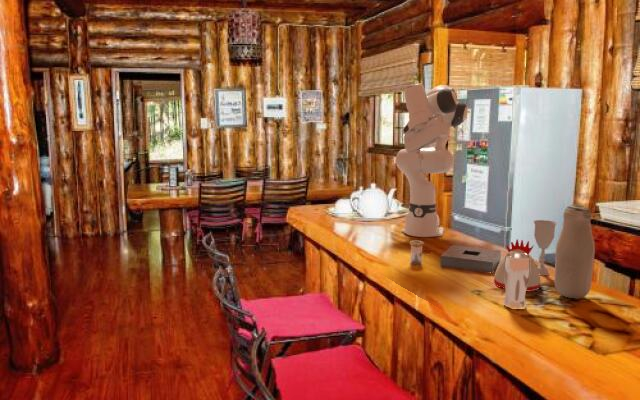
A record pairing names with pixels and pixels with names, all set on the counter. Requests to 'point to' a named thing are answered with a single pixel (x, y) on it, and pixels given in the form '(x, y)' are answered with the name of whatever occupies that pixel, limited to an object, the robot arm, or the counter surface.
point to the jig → (471, 258)
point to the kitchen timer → (534, 274)
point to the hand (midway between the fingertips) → (429, 155)
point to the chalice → (544, 240)
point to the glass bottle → (575, 253)
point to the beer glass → (516, 278)
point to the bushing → (416, 252)
